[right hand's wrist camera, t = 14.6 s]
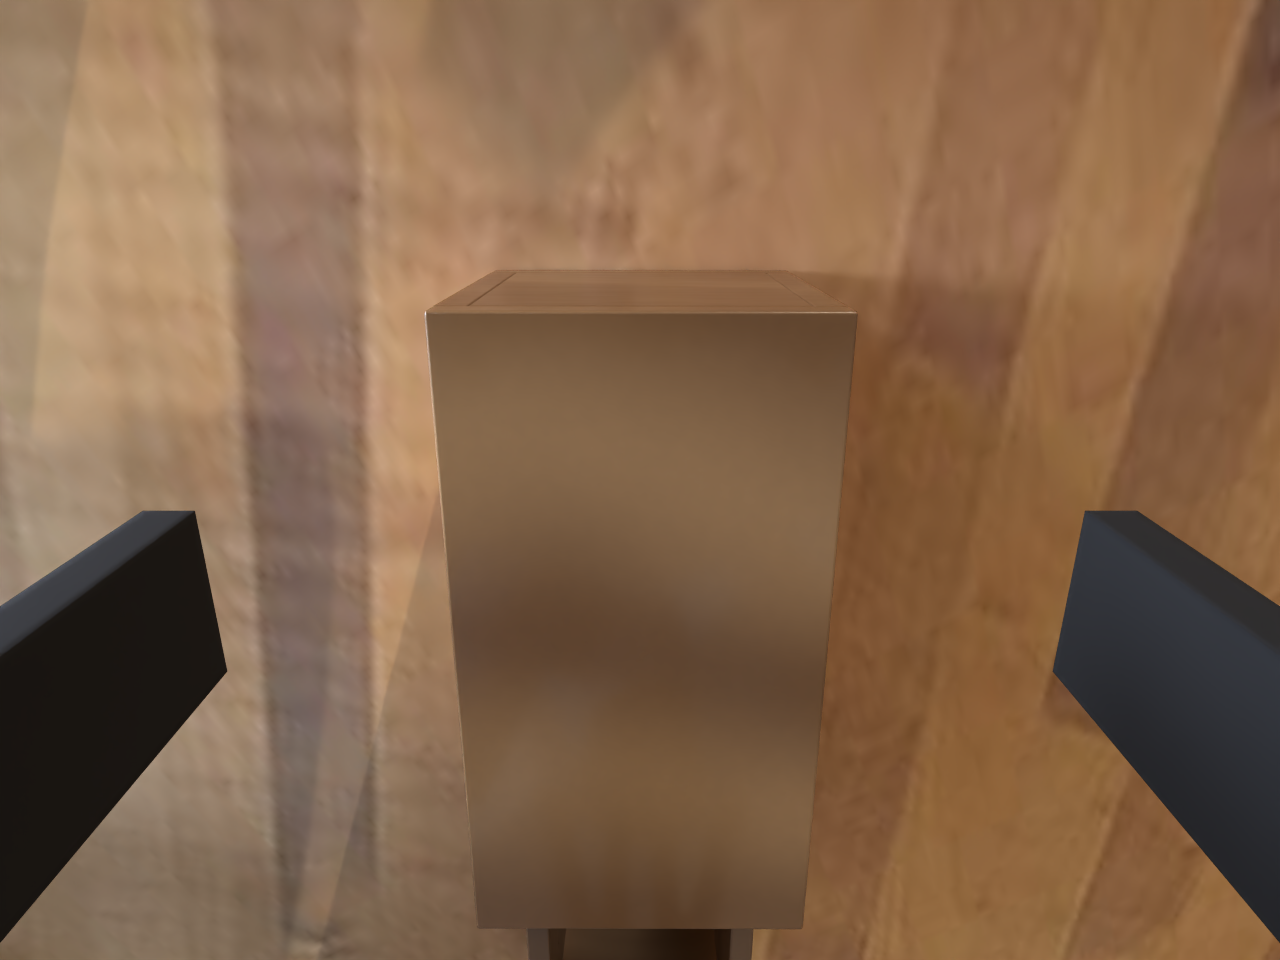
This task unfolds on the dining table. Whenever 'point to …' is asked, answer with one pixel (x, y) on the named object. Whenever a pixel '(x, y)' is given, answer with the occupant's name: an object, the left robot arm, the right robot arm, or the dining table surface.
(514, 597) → the cabinet
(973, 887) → the dining table surface
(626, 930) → the drawer
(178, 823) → the dining table surface
